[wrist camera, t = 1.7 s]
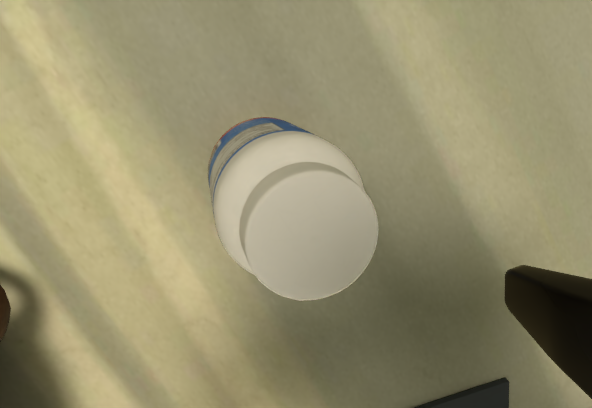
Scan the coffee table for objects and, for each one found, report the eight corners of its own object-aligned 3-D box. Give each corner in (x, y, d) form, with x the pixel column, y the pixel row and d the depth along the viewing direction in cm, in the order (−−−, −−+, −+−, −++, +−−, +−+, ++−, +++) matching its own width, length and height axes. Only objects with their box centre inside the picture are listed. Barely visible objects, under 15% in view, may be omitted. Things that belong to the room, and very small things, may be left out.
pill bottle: (333, 182, 22) (431, 259, 13) (248, 241, 22) (288, 359, 13) (278, 91, 20) (349, 108, 11) (183, 155, 20) (178, 224, 11)
